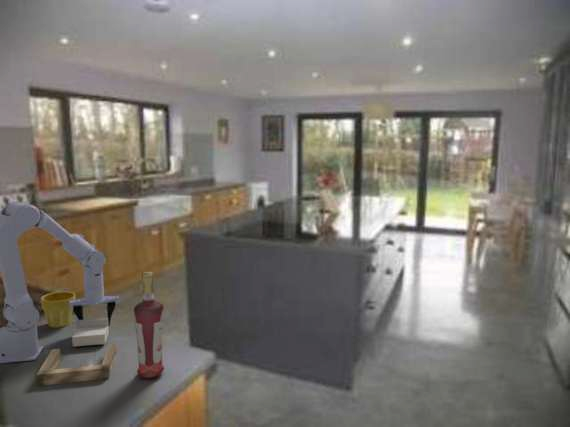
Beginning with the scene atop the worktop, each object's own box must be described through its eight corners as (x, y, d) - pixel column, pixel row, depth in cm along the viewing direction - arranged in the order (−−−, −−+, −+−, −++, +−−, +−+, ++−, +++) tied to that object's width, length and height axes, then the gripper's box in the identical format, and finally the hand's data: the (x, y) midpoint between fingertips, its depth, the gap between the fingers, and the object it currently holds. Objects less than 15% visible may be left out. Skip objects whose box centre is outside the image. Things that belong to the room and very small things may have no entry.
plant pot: (83, 318, 151) (81, 291, 149) (65, 331, 140) (63, 302, 139) (55, 316, 152) (53, 290, 150) (35, 329, 141) (33, 300, 140)
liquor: (164, 380, 112) (161, 276, 108) (134, 383, 111) (130, 278, 106) (165, 366, 119) (163, 268, 115) (138, 368, 118) (134, 269, 113)
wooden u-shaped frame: (37, 385, 109) (36, 374, 108) (52, 359, 122) (52, 349, 122) (109, 378, 113) (108, 367, 112) (116, 353, 126) (116, 343, 126)
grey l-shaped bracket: (72, 349, 128) (71, 329, 127) (78, 338, 135) (77, 320, 134) (105, 346, 130) (104, 326, 129) (108, 336, 137) (107, 317, 136)
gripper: (67, 292, 132) (69, 334, 134) (118, 287, 137) (119, 328, 139) (69, 285, 138) (72, 325, 140) (118, 281, 143) (119, 319, 145)
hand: (96, 326), depth 140 cm, fingers open, 7 cm apart
